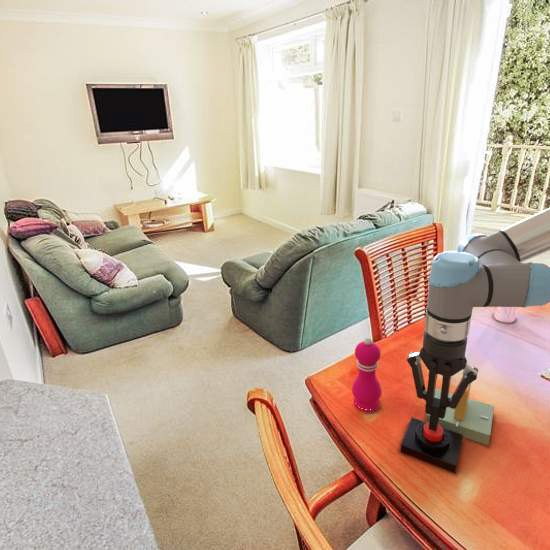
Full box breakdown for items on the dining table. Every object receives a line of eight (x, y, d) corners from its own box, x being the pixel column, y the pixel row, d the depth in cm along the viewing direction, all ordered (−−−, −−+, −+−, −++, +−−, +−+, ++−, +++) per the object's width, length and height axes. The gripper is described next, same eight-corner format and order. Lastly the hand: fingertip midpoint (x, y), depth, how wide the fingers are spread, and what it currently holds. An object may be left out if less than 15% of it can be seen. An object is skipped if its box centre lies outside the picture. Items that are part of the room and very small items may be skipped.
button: (444, 431, 81) (445, 425, 81) (440, 445, 78) (441, 439, 78) (425, 425, 84) (425, 419, 83) (421, 438, 80) (421, 432, 80)
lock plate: (492, 413, 90) (494, 403, 88) (487, 447, 81) (490, 437, 80) (435, 396, 96) (436, 386, 95) (425, 426, 88) (426, 415, 86)
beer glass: (491, 320, 126) (498, 280, 119) (493, 311, 131) (501, 272, 125) (515, 325, 122) (524, 284, 116) (517, 315, 127) (525, 275, 121)
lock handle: (458, 399, 91) (462, 371, 87) (467, 401, 90) (472, 374, 86) (453, 418, 85) (457, 390, 82) (463, 421, 84) (467, 393, 81)
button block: (461, 441, 83) (464, 428, 81) (455, 473, 76) (457, 459, 75) (410, 424, 89) (412, 411, 87) (400, 452, 82) (401, 438, 80)
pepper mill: (382, 415, 92) (385, 347, 84) (352, 413, 93) (352, 346, 85) (379, 394, 98) (382, 330, 90) (351, 393, 100) (352, 329, 92)
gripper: (404, 334, 71) (397, 426, 80) (482, 352, 64) (464, 451, 74) (414, 315, 76) (407, 404, 86) (486, 330, 70) (469, 425, 79)
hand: (433, 425), depth 80 cm, fingers closed
